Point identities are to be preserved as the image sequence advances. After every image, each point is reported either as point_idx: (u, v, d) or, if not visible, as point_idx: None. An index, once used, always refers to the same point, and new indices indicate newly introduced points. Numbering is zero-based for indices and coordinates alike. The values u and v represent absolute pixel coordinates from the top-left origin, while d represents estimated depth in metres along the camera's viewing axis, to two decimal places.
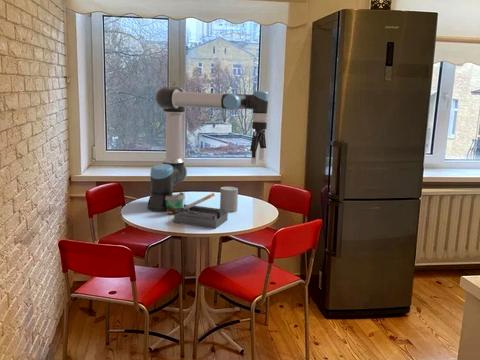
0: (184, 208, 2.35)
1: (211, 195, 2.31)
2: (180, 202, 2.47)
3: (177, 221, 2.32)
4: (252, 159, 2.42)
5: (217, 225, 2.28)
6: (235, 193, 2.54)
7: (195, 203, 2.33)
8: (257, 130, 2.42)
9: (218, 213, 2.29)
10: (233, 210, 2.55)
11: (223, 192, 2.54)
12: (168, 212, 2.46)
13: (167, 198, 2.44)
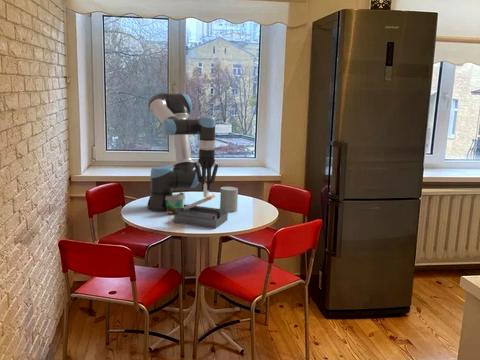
0: (184, 208, 2.35)
1: (212, 196, 2.31)
2: (180, 202, 2.47)
3: (177, 221, 2.32)
4: None
5: (217, 225, 2.28)
6: (235, 193, 2.54)
7: (195, 204, 2.33)
8: None
9: (218, 213, 2.29)
10: (233, 210, 2.55)
11: (223, 192, 2.54)
12: (168, 212, 2.46)
13: (167, 198, 2.44)
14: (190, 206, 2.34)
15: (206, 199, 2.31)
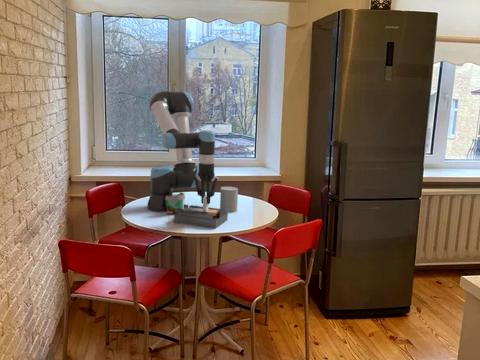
0: (185, 211, 2.35)
1: (216, 213, 2.32)
2: (180, 202, 2.47)
3: (177, 221, 2.32)
4: None
5: (217, 225, 2.28)
6: (235, 193, 2.54)
7: (198, 212, 2.33)
8: None
9: (218, 213, 2.29)
10: (233, 210, 2.55)
11: (223, 192, 2.54)
12: (168, 212, 2.46)
13: (167, 198, 2.44)
14: (192, 211, 2.34)
15: (210, 213, 2.31)
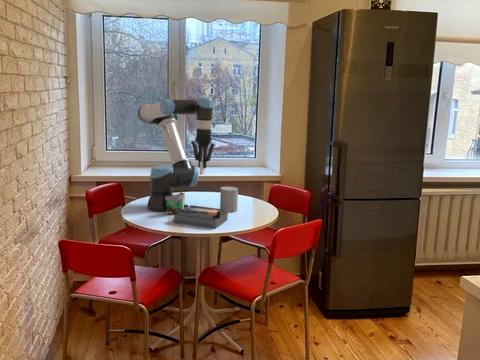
0: (185, 211, 2.35)
1: (216, 213, 2.32)
2: (180, 202, 2.47)
3: (177, 221, 2.32)
4: None
5: (217, 225, 2.28)
6: (235, 193, 2.54)
7: (198, 212, 2.33)
8: None
9: (218, 213, 2.29)
10: (233, 210, 2.55)
11: (223, 192, 2.54)
12: (168, 212, 2.46)
13: (167, 198, 2.44)
14: (192, 211, 2.34)
15: (210, 213, 2.31)
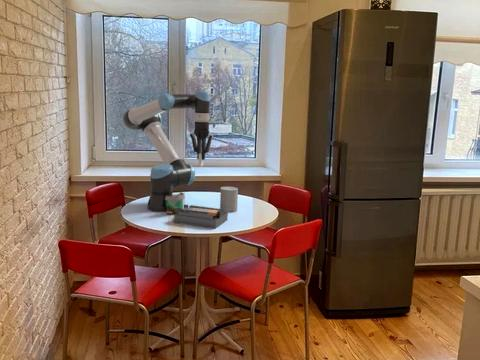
0: (185, 211, 2.35)
1: (216, 213, 2.32)
2: (180, 202, 2.47)
3: (177, 221, 2.32)
4: None
5: (217, 225, 2.28)
6: (235, 193, 2.54)
7: (198, 212, 2.33)
8: None
9: (218, 213, 2.29)
10: (233, 210, 2.55)
11: (223, 192, 2.54)
12: (168, 212, 2.46)
13: (167, 198, 2.44)
14: (192, 211, 2.34)
15: (210, 213, 2.31)
